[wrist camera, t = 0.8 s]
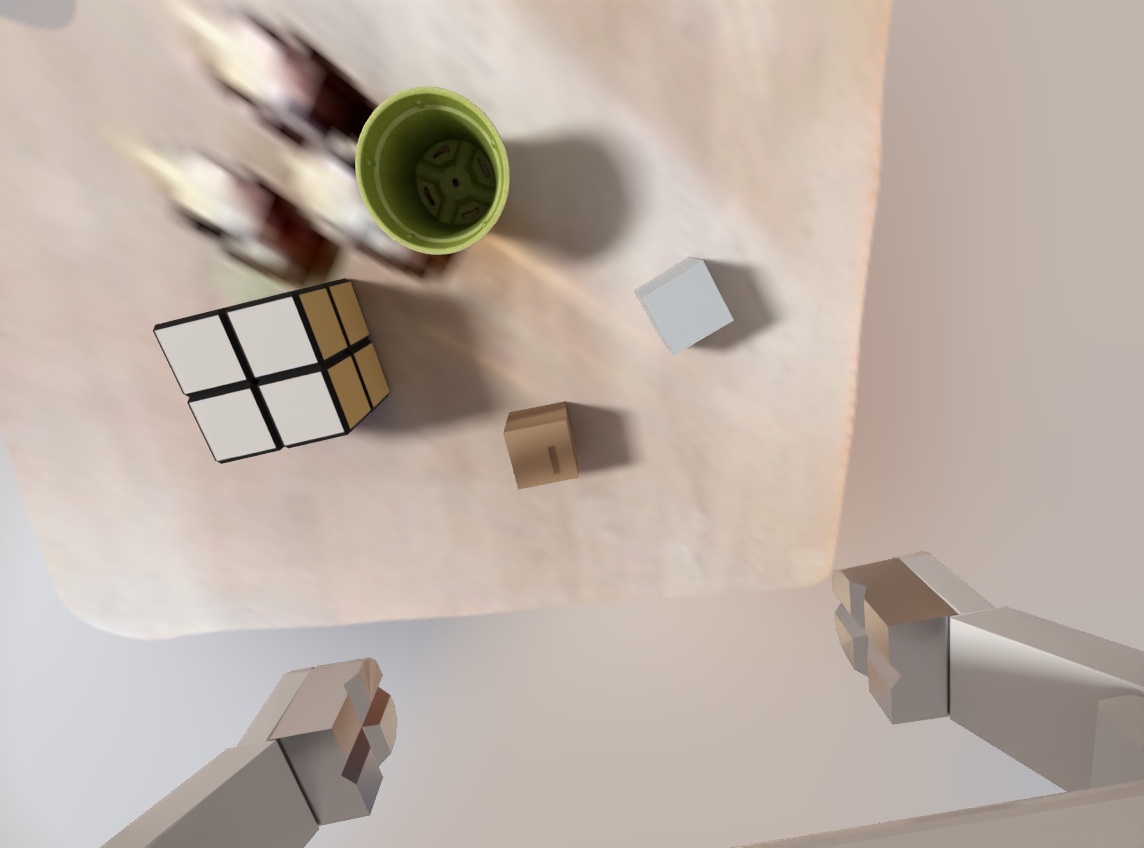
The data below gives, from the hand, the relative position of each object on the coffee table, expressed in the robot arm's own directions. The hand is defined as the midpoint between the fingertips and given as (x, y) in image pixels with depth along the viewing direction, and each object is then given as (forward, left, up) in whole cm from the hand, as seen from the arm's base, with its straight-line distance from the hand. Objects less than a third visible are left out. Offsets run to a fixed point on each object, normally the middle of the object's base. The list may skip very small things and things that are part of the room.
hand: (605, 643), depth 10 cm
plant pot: (-12, -6, -38) cm, 41 cm away
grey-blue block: (0, +9, -38) cm, 39 cm away
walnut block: (+9, -4, -38) cm, 40 cm away
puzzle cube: (-2, -21, -39) cm, 44 cm away
